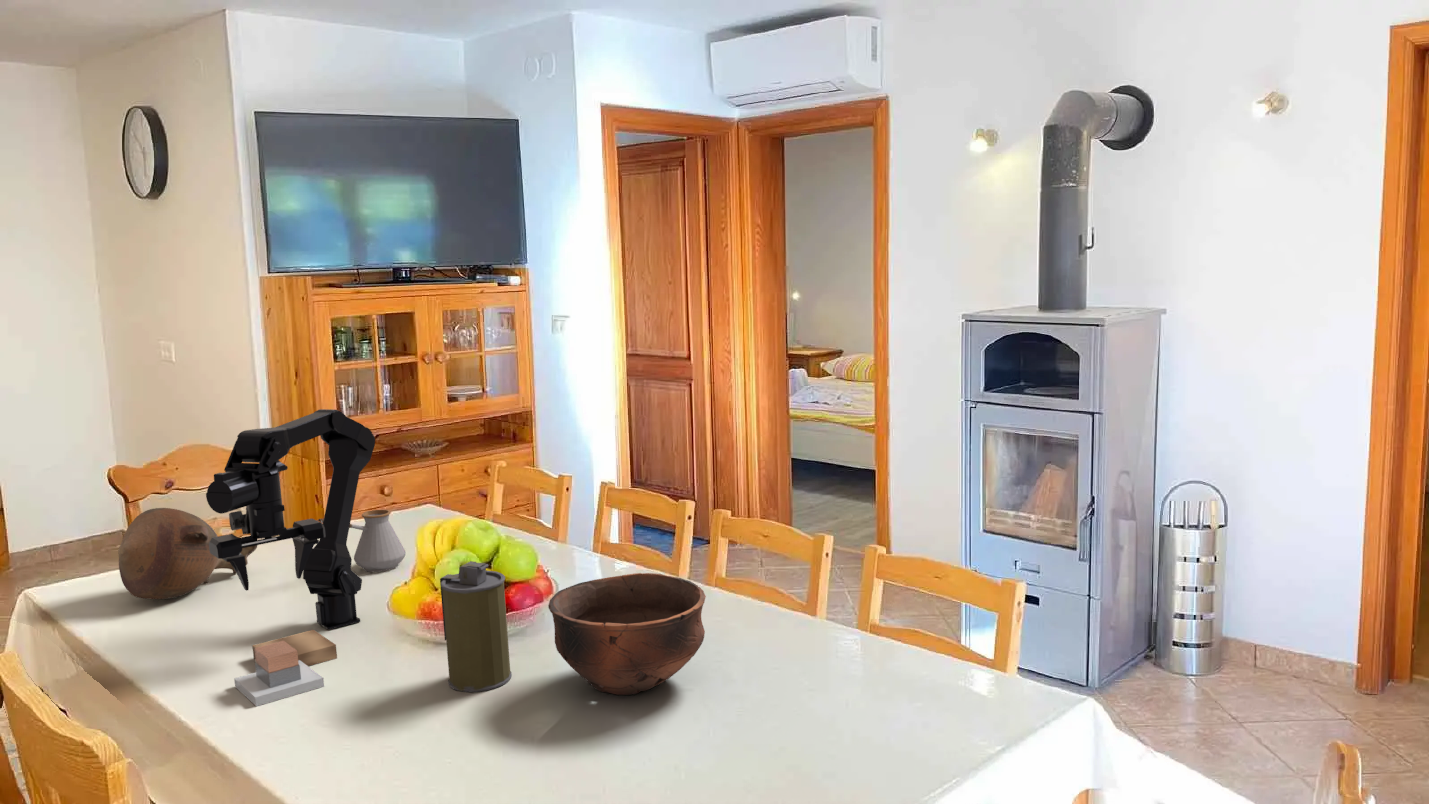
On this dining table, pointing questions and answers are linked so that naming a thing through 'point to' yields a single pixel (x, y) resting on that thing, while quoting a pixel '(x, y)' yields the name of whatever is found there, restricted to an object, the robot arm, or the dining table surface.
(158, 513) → the jug
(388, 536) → the coffee pot
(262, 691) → the ceramic tile
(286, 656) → the housing
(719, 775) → the dining table surface
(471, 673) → the canister
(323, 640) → the walnut plinth
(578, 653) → the bowl
